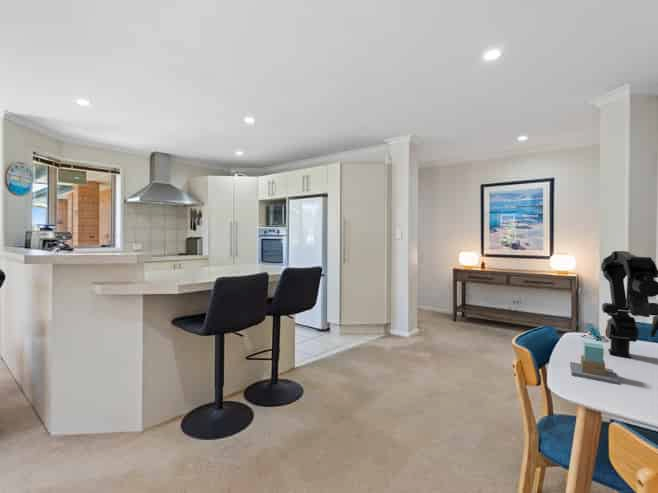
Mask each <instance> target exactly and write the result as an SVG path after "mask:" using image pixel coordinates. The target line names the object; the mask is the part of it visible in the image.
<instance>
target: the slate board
mask: <svg viewBox="0 0 658 493" xmlns="http://www.w3.org/2000/svg"><path fill="white" fill-rule="evenodd" d="M569 364H570V365H569V366H570V370H571V372H570V373H571V376H575V377H580V378H584V379H590V380H594V381H599V382H606V383H610V384H616V385H618V379H617V377H616V375H615V372H614V370H613V369H612V368H608V367H605V376H602V375H596V374H591V373H586V372H582V369H581V362H575V361H574V362H573V361H570V362H569Z"/></svg>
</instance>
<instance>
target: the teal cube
mask: <svg viewBox="0 0 658 493" xmlns="http://www.w3.org/2000/svg"><path fill="white" fill-rule="evenodd" d="M604 351H605V350H604V346H603V344H601V343H595V342H587V341H583V354H582V355H583V356H584V360H586V361H592V362H597V363H603V360H604V353H605V352H604Z"/></svg>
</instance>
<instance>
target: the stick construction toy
mask: <svg viewBox="0 0 658 493" xmlns="http://www.w3.org/2000/svg"><path fill="white" fill-rule="evenodd" d="M585 325H586V327H587V328H588V330H589V331H588V332H587V333H584V334H582V335H583V336H582V337H581V338H584V337H586V336H587V335H585V334H589V335H588V336H590V335H591V336H593V337H594V339H595V341H599V340H600V341H602V340H603V338H602V335H601V333H600V332H599V330H598V329H597V328H596V327H594V325H593V323H586V324H585Z"/></svg>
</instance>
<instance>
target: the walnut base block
mask: <svg viewBox="0 0 658 493" xmlns="http://www.w3.org/2000/svg"><path fill="white" fill-rule="evenodd" d="M580 356H581V357H580V358H581V359H580V364H581V369H582V372H586V373H591V374H596V375H602V376H605V368H606V362H605V360H604V359H603V363H597V362H592V361H586V360H584V356H583V354H581V355H580Z"/></svg>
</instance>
